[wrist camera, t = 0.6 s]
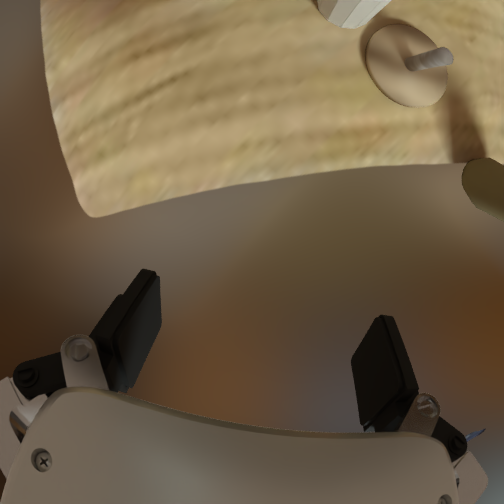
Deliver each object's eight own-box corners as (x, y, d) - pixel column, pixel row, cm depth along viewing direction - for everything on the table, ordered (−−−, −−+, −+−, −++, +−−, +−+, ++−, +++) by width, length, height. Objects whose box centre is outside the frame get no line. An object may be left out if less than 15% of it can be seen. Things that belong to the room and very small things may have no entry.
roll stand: (360, 20, 24) (386, -7, 15) (437, 37, 22) (478, 24, 13) (368, 101, 30) (399, 100, 20) (443, 113, 28) (488, 120, 19)
